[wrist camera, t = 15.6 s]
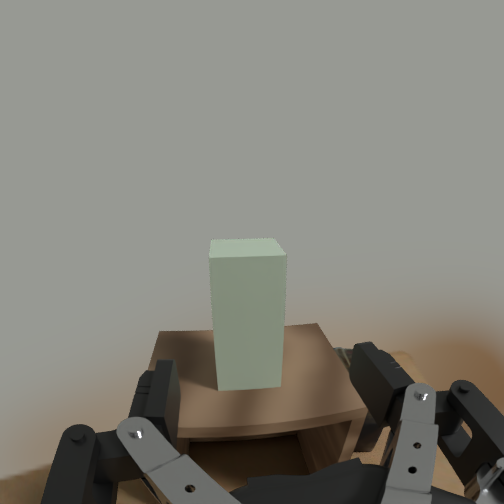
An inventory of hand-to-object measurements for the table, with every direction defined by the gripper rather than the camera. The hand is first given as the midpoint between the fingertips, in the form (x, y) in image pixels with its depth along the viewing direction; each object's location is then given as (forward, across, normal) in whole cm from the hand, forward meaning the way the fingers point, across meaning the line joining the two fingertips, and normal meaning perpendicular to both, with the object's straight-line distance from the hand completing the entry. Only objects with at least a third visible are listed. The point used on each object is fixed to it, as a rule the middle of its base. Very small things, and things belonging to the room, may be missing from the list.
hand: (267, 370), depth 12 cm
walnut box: (+11, 0, +26) cm, 28 cm away
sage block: (+10, 0, +8) cm, 13 cm away
